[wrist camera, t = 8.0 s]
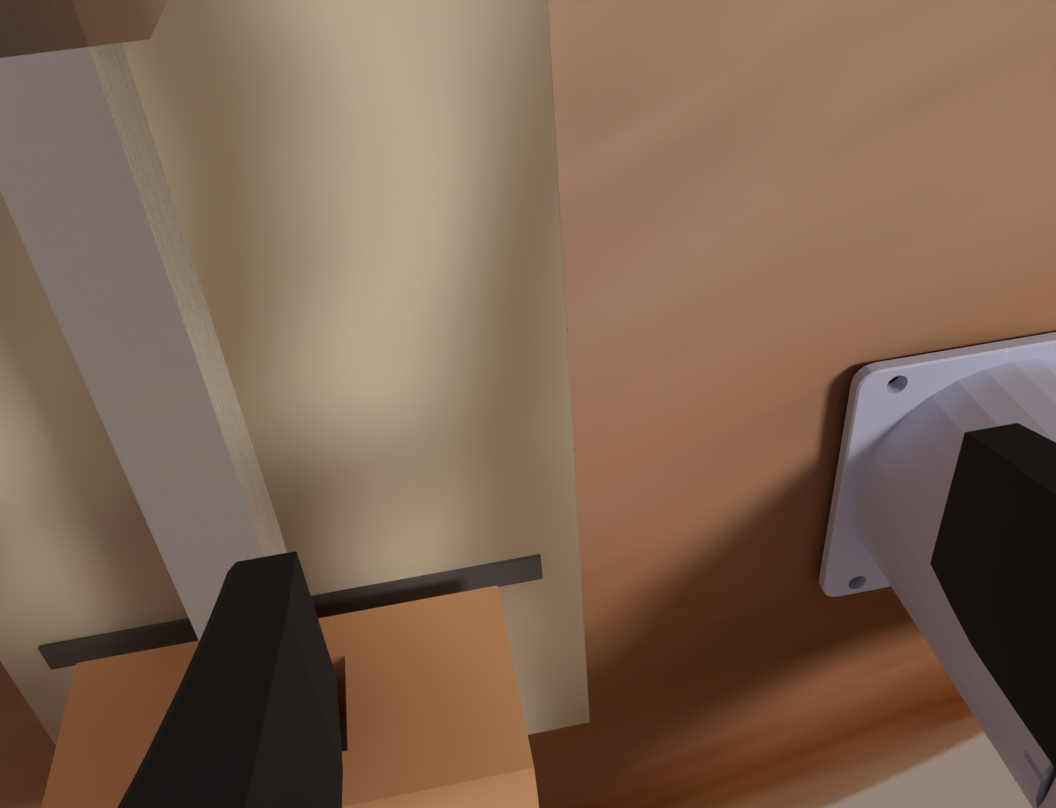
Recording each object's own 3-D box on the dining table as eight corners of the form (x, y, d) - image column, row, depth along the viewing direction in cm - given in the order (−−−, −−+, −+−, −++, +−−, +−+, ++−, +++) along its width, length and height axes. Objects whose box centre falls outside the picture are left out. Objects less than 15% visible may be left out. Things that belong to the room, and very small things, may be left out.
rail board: (520, -273, 14) (603, -257, 10) (582, 694, 29) (627, 863, 25) (-486, -173, 13) (-863, -108, 9) (110, 787, 28) (73, 983, 23)
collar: (497, 585, 22) (534, 767, 19) (511, 689, 25) (547, 869, 21) (76, 662, 21) (25, 871, 18) (134, 763, 24) (99, 965, 20)
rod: (77, -112, 12) (45, -86, 10) (381, 832, 25) (384, 897, 24) (-69, -96, 11) (-121, -68, 10) (315, 846, 25) (315, 912, 23)
